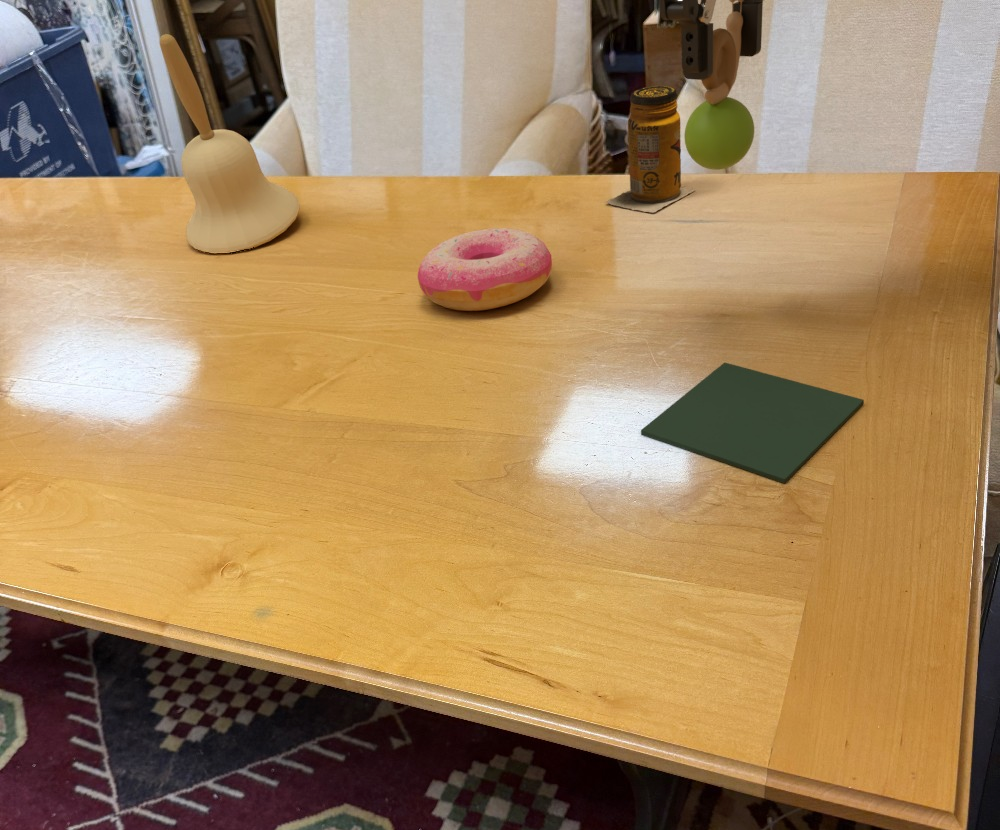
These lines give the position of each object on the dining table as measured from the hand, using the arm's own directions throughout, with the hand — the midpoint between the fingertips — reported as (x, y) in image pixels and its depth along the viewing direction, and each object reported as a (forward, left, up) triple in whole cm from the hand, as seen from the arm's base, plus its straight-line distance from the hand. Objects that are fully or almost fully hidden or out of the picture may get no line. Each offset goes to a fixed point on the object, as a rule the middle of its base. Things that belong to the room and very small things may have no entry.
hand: (722, 65), depth 70 cm
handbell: (+6, -67, -22) cm, 71 cm away
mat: (+13, +11, -22) cm, 27 cm away
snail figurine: (0, 0, -8) cm, 8 cm away
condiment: (-24, -24, -22) cm, 40 cm away
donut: (+5, -24, -22) cm, 33 cm away
